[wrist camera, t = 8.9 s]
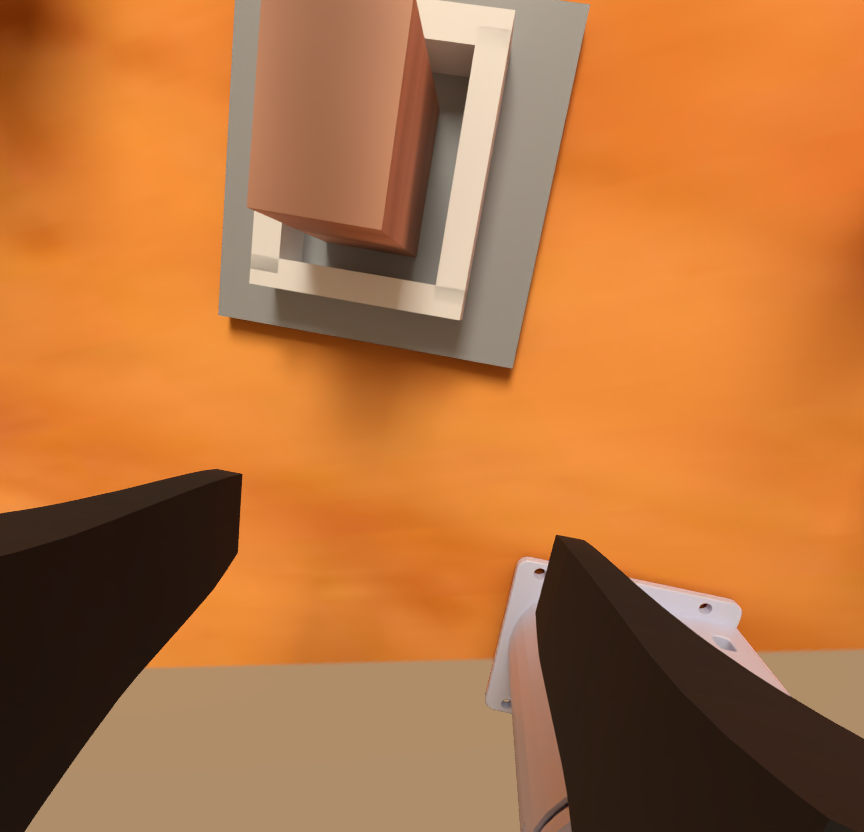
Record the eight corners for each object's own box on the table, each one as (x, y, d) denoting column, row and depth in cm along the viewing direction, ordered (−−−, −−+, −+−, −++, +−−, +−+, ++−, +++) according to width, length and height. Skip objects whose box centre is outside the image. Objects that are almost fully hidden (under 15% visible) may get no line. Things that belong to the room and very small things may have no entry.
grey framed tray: (584, 19, 15) (606, -43, 13) (511, 366, 18) (516, 375, 16) (248, -24, 16) (201, -91, 14) (229, 314, 19) (187, 315, 16)
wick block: (439, 109, 16) (414, -9, 10) (416, 257, 17) (381, 230, 11) (342, 94, 16) (262, -29, 10) (326, 242, 17) (246, 207, 11)
